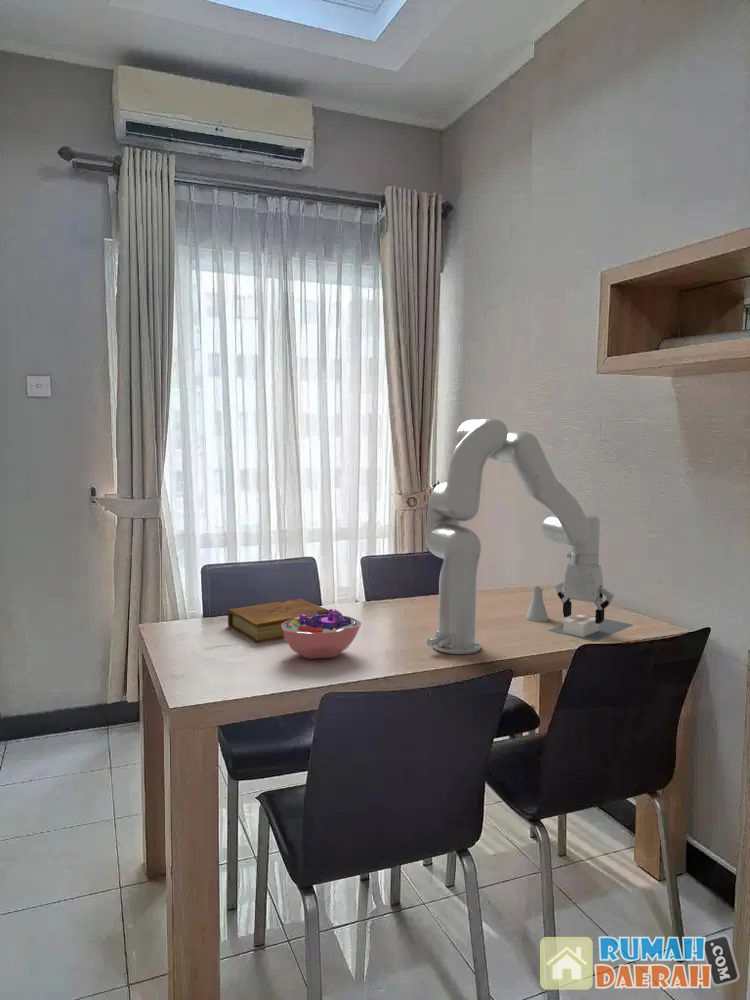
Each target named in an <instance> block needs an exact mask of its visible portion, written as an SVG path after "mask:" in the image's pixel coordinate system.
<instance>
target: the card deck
mask: <svg viewBox="0 0 750 1000" xmlns="http://www.w3.org/2000/svg"><path fill="white" fill-rule="evenodd" d="M591 616H592V615H584V614H577V615H575V616H571V617H569V618H566V619H563V624H562V625H563V633H567V634H572V635H576V636H580V637H585V636H587V635H590V634H592V633H594V632H597V631H599V624H596V623H595V618H594V617H595V616H594V617H591Z"/></svg>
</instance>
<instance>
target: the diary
mask: <svg viewBox="0 0 750 1000" xmlns="http://www.w3.org/2000/svg"><path fill="white" fill-rule="evenodd" d="M329 610H330V609H327V608H324V607H322V606H319V605H318V604H315V603H313V602H311V601H308V600H305V599H303V598H301V597H300V598H294V599H287V600H282V601H281V600H280V601H276V602H275V601H274V602H269V603H268V602H267V603H263V604H262V603H261V604H256V605H255V604H253V605H249V606H244V607H242V606H241V607H236V608H230V609H228V610H227V626H228V627H229V628H230V629H232V630H234V632H237V633H238V634H240V635H241V636H243V637H245V638H247V639H248V640H251V641H252V643H253V642H254V643H255V644H261V643H267V642H272V641H278V640H283V639H284V637H283V633H282V627H281V624H282V623H284V622H286V621H288V620H291V619H293V618H296V617H299V616H300V614H302V616H303V615H309V614H328V612H329ZM284 640H285V639H284Z"/></svg>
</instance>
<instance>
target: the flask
mask: <svg viewBox="0 0 750 1000" xmlns="http://www.w3.org/2000/svg"><path fill="white" fill-rule="evenodd" d="M532 590H533V594H532V598H531V601H530V604H529V607H528V609H527V612H526V615H525V617H524V619H525V620H527V621H529V622H537V623H540V622H543V623H544V622H548V621H549V619H550V618H549V615H548V612H547V609H546V605H545V602H544V596H543V590H544V587H542V586H532Z"/></svg>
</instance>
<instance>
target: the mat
mask: <svg viewBox="0 0 750 1000" xmlns="http://www.w3.org/2000/svg"><path fill="white" fill-rule="evenodd" d="M590 616H591V617H594V618H596V616H593V615H590ZM563 625H564V624H562V625H559V626H556V627H554V628H551V629H548V630H547V631H548V632H552V633H556V634H561V635H565V636H568V637H573V638H577V639H581V640H585V641H590V642H593V643H594V642H597V641H599V640H602V639H604V638H606V637H608V636H609V637H610V635H611V636H612V634H613V635H614V634H615V633H618V632H620V631H622V630H624V629H627V628H630V627H632V626H633V624H631V623H626V622H624V621H623V622H622V621H616V620H612V619H609V618H608V619H607V618H604V620H603V622H602V623H599V631H597V632H594V633H592V634H590V635H587V636H585V637H580V636H576V635H572V634H567V633H563Z"/></svg>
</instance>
